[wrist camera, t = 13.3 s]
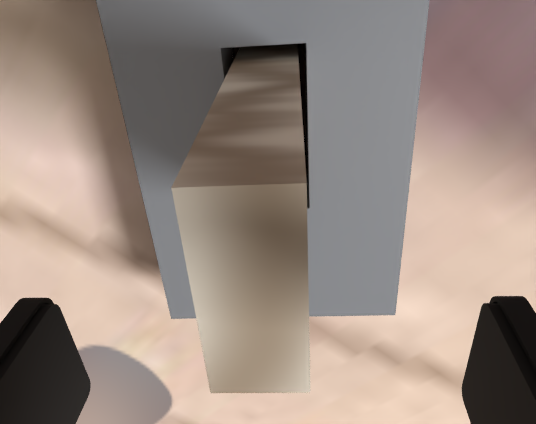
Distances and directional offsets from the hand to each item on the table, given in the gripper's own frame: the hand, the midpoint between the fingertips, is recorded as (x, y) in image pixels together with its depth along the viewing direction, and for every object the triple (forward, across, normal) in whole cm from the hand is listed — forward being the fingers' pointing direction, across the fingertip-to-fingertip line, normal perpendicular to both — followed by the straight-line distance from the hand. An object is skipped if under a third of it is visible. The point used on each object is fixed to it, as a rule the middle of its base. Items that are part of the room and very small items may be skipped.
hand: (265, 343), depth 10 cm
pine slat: (+18, +1, 0) cm, 18 cm away
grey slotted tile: (+18, +1, 0) cm, 18 cm away
